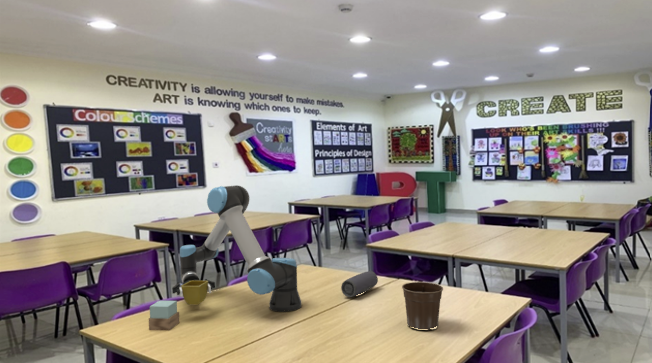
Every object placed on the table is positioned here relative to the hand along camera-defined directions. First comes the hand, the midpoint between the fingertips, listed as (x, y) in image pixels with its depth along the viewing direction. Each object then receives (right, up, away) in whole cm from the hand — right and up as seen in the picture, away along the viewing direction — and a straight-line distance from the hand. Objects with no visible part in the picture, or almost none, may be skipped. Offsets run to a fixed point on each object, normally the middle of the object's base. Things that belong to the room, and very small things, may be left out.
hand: (196, 291), depth 193 cm
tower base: (-12, -14, -5) cm, 19 cm away
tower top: (-12, -9, -5) cm, 16 cm away
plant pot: (+96, -11, -13) cm, 97 cm away
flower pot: (-1, -6, +4) cm, 7 cm away
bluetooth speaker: (+74, -10, +35) cm, 83 cm away
